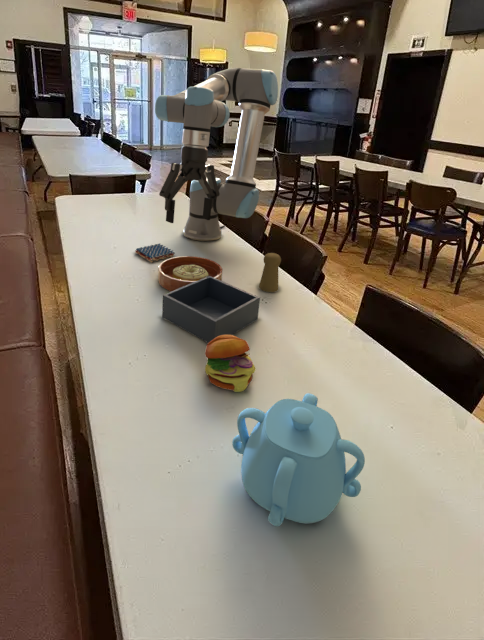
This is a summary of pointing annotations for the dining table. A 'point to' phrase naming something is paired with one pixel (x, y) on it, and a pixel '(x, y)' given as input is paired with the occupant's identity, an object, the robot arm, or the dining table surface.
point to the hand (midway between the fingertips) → (188, 220)
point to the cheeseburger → (229, 363)
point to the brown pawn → (270, 273)
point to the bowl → (170, 264)
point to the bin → (210, 308)
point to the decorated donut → (189, 273)
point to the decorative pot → (296, 461)
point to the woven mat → (154, 252)
